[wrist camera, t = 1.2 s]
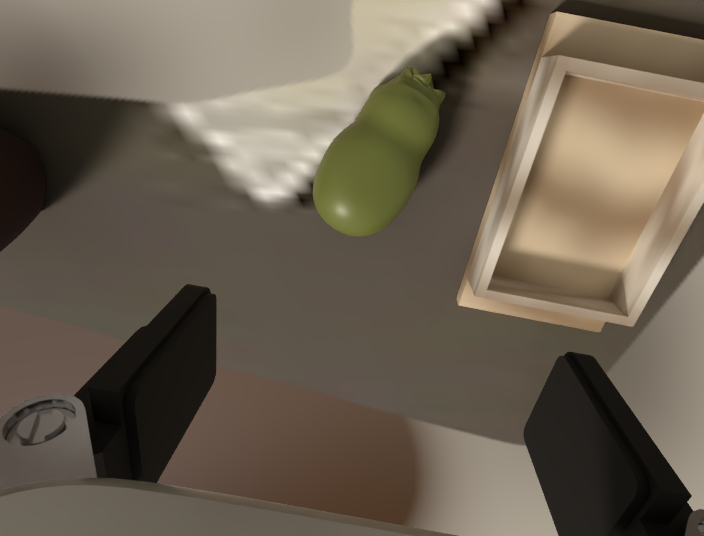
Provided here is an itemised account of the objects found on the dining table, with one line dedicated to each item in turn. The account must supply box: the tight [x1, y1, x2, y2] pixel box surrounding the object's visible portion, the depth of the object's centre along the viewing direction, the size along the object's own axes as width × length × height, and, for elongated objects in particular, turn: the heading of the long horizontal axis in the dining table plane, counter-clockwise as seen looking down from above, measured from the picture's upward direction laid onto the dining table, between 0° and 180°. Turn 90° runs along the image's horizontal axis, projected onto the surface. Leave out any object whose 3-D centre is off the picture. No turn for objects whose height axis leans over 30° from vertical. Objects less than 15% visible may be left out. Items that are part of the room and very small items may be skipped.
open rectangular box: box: [456, 12, 704, 332], centre depth 24 cm, size 18×10×4 cm, turn 170°
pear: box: [313, 67, 446, 236], centre depth 24 cm, size 6×5×10 cm
